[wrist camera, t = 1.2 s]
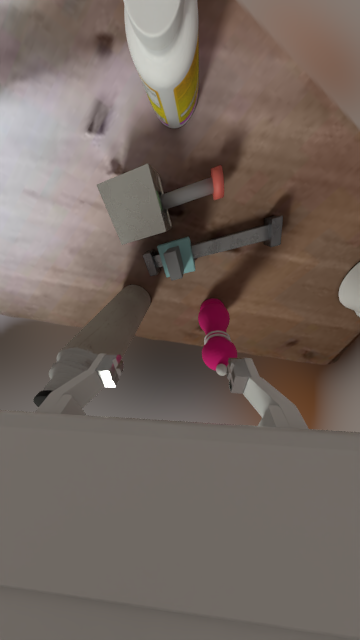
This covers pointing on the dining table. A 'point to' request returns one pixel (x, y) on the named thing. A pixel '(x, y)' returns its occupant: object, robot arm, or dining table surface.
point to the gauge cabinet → (136, 204)
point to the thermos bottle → (99, 337)
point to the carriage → (177, 257)
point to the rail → (227, 242)
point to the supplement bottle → (166, 55)
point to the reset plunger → (196, 190)
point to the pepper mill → (216, 335)
